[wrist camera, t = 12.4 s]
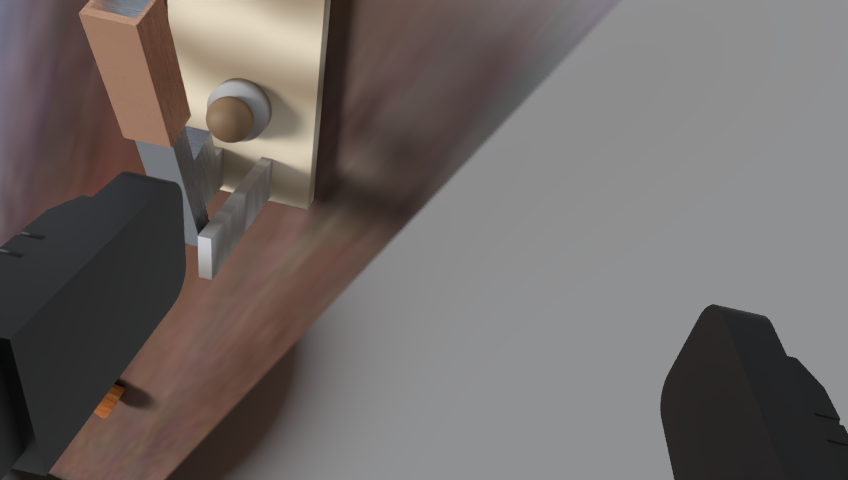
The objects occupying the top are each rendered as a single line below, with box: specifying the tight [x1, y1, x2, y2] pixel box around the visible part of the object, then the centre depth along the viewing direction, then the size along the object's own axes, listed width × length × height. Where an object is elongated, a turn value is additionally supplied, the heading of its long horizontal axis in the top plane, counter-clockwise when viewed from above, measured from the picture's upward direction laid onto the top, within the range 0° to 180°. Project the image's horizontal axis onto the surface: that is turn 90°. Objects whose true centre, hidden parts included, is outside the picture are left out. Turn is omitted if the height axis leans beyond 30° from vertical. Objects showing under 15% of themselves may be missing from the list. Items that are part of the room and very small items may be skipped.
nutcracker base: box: [167, 0, 331, 280], centre depth 38 cm, size 20×10×12 cm, turn 170°
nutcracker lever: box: [79, 0, 216, 247], centre depth 34 cm, size 17×3×4 cm, turn 170°
